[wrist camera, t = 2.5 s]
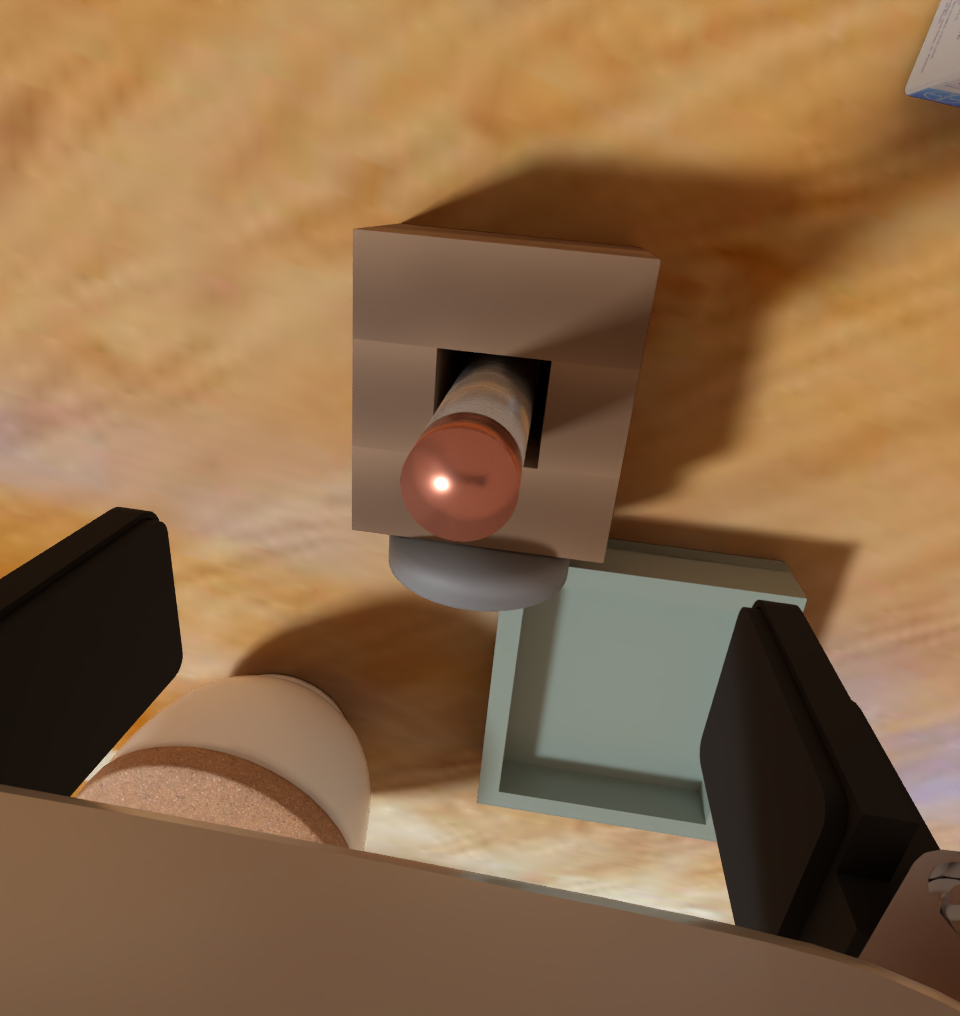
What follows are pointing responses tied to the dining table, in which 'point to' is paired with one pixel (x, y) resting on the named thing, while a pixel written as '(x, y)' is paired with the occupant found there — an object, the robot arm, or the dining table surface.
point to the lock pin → (473, 450)
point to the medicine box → (939, 59)
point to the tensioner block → (510, 332)
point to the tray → (619, 686)
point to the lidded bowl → (247, 762)
